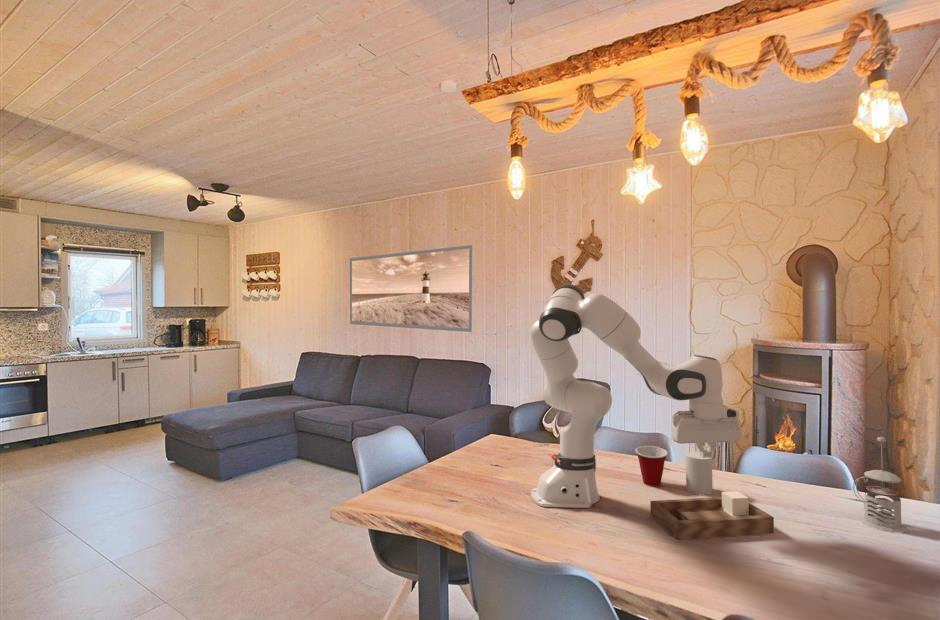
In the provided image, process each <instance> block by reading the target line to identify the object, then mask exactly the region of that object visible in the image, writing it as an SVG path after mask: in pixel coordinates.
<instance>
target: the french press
mask: <svg viewBox="0 0 940 620" xmlns="http://www.w3.org/2000/svg"><path fill="white" fill-rule="evenodd" d="M876 441H878V442H880V452H881V453H880V454H881V455H880V457H881V462H880V463H881V469H871V470H867V471H865V472H863V475H864V476H861V477H858V478H856V479H855V480H854V482H853V485H852V488H853V493H854V495H855V496H856V498H857V499H859V501H861V502H862V503H863V505H864V516H863V517H861V519H860V521H861V523H862V524H863V525H866V526H867V525H868V526H867V527H870V528H872V527H873V529H875V528H877V529H876V530H878V529H881V530H880V531H882V530H883V532H887V531H890V532H889V533H895V532H901V533H903V532H902V531H905V530H906V529H907V528H906V527H905V526H904V524H902V499H901V497H900V496H899V495H900V493H899V492H898V491H897V490H895V489H891V488H889V487H884V483H889V484H898V483H900V482H901V481H902V478H901V477H899V476H898V475H896V474H894V473H892V472H890V471H886V470H883V469H884V468H883V443H885V442H887V440H886V438H885V437H883V436H878V437H877V438H876ZM860 479H861V480H862V479H863V482H864V483H867V482H869V479H871V480H874V481H878V482H881V486H877V485H869V486H866V487H865V489H866V490H867V491H866V492H864V497H862V495H860V493H859V491H858V482H859V481H860ZM855 489H856V490H855ZM878 496H879V497H878ZM880 496H881V497H880ZM882 496H883V497H882ZM859 497H860V498H859ZM885 497H886V498H885ZM888 498H889V499H888ZM890 499H891V500H890ZM906 531H907V530H906ZM906 531H905V532H906Z"/></svg>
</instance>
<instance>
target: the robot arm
mask: <svg viewBox="0 0 940 620" xmlns="http://www.w3.org/2000/svg"><path fill="white" fill-rule="evenodd" d="M582 328H584V329H588V330H589V331H590V332H592V333H593V334H594V335H595V336H596V337H597V338H598V339H599V340H600V341H601V342H603V343H604V344H605V345H606V346H608V347H609V348H610V349H611V350H613V351H615V352H617V353H619V354H620V355H621V356H622V357H623V358H624V359H625V360H627V362H629V364H631V365H632V366H633V368H635V369H636V370H637V371H638V373H640V375H641V377H642V378H643V380H644V383H645V386H646V387H647V388H648V389H649V391H650V392H652V393H653V394H655V395H659V396H662V397H663V396H664V397H666V398H669V399H672V400H675V401H686V400H687V401H688V400H689V407H688V408H689V409H688V410H678V411H676V412H675V413H674V414H673V415H672V424H671V425H672V427H671V436H670V437H671V439H672V440H673V442H675V443H676V444H681V445H683V444H695V445H696V447H697V449H698V451H699V452H700V457H702V458H711V457H712V458H713V452H714V451H715V449H716V448H717V443H736V442H737V443H739V441H741V438H742V425H741V421H740V420H739V417H740V411H739V410H737V409H734V408H732V407H728V406H726V405H725V404H723V403H724V402H723V398H722V390H723V387H724V386H723V371H722V365H721V363H720V361H719V360H718V359H717V358H715V357H709V356H705V355H697V354H695V355H692V356H691V357H690V358H689V359H688V360H685V361H684V362H683V363H681V364H678V365H670V364H667V363H664V362H661V361H659V360H657V359H656V358H655V357H654V356H653V355H652V354H651V353H650V352H648V350H646V349H645V347H644V346H643V345H642V344H641V343H640V341H639V340H640V338H641V327H640V325H639V324H638V323H637V321H636V320H635V319H634V318H633V316H632V315H631V314H629V312H627V311H626V310H625V309H624V308H623V307H622V306H620V305H619V304H618V303H616V302H615V301H613V300H612V299H610V298H609V297H607V296H606V295H604V294H602V293H600V292H599V293H598V292H594V293H591V294H589V295H588V296H586V297H585V295H584V292H583V291H582V289H580V288H579V287H578V286H576V285H574V284H569V283H568V284H563V285H560V286H559V287H557V288H556V289H555V290H554V291H553V292H552V295H550V297H549V299H548V300H547V301H546V303H545V305H544V308H543V311H542V312H541V314H540V316H539V319H538V320H536V321H534V323H532V325H531V327H530V339H531V340H532V341H531V342H532V346H533V348H534V349H535V352H536V354H537V357H538V358H539V361H540V363H541V365H542V367H543V370H544V372H545V374H546V380H547V381H546V383H545V384H544V387H543V390H542V395H543V400H544V402H545V403H546V405H548V406H550V407H551V408H554V409H556V410H558V411H563V412H567V413H570V415H571V418H570V420H569V423H568V424H566V425H564V426H563V427H562V428H561V430H560V432H559V449H560V450H559V453H558V454H557V453H555V452H552V453H551V454H550V458H551V459H552V460H553V461H554V464H553V465H552V466H551V467H550V468H549V469H547V470H545V471H544V472H543V473H542V474H541V475H539V478H538V483H537V487H534V488H532V489H531V493H530V494H531V495H530V496H531V498H532V500H533V501H534V502H535V503H536V504H537V505H539V506H541V507H543V508H546V507H547V508H575V509H576V508H577V509H582V508H583V509H588V508H589V509H590V508H591V507H592V505H593V504H595V503H598V502H599V501H600V499H601V498H600V494H599V490H598V485H597V481H596V480H597V479H596V467H597V461H596V454H595V432H596V428H597V425H598V423H599V421H600V420H601V419H602V418H603V417H604V416H606V415H607V414H608V413H609V411H610V410H611V407H612V404H613V398H612V394H611V392H610V390H609V389H608V388H607V387H605V386H604V385H601V384H598V383H596V382H591V381H584V380H579V379H577V378H575V376H574V374H575V372H577V369H578V365H579V361H578V358H577V357H576V354H575V351H574V348H573V347H572V345H571V343H570V340H569V338H570V337H572V336H573V337H574V336H575V335H578V334H580V333H581V331H582ZM705 444H707V445H708V446H707V448H706V450H705V449H704V447H705Z"/></svg>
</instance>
